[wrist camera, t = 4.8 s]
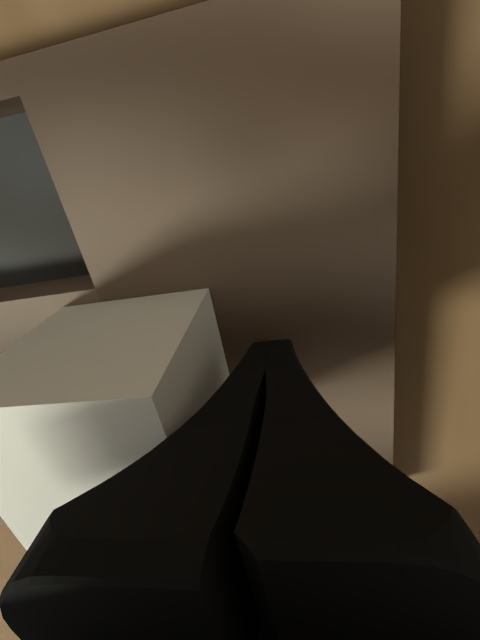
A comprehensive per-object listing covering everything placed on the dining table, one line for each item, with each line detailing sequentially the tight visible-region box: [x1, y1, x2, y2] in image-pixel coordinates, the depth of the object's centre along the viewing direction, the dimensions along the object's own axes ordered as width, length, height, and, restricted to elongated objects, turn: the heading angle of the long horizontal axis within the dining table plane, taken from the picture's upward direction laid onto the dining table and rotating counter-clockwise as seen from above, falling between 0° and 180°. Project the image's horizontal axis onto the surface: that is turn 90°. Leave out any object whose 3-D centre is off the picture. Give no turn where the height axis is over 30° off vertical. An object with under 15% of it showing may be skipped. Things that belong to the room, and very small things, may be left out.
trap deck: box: [0, 0, 401, 526], centre depth 13 cm, size 18×25×4 cm
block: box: [0, 288, 229, 550], centre depth 10 cm, size 5×5×5 cm
